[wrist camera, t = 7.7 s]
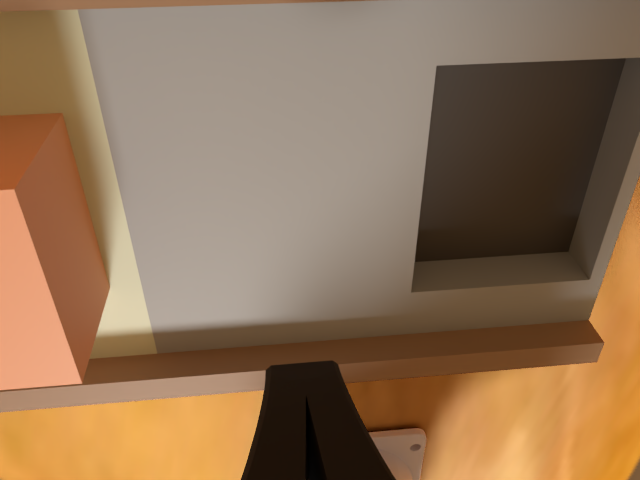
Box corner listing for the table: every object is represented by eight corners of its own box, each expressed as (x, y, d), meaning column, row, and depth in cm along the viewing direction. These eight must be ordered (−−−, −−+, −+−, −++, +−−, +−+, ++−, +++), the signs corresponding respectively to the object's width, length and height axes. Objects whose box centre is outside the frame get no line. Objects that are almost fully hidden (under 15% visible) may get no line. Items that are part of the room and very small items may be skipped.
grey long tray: (559, 304, 24) (596, 362, 22) (-214, 363, 22) (-276, 435, 19) (676, -75, 16) (757, -56, 14) (-529, -52, 14) (-708, -22, 11)
